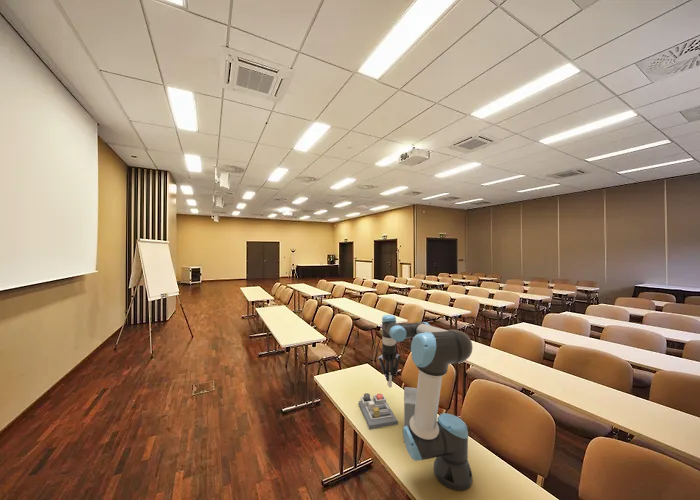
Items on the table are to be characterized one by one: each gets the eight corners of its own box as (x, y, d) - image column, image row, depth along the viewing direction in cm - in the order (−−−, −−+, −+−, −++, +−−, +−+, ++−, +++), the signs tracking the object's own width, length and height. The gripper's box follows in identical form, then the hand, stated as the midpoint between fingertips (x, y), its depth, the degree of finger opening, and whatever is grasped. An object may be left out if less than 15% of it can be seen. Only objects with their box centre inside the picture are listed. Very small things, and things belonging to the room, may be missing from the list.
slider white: (374, 410, 150) (374, 403, 150) (369, 411, 149) (369, 404, 149) (373, 407, 153) (373, 400, 153) (368, 408, 152) (368, 401, 152)
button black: (370, 401, 155) (370, 396, 155) (364, 402, 154) (364, 397, 154) (368, 398, 159) (368, 392, 158) (363, 398, 158) (363, 393, 158)
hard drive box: (420, 446, 126) (420, 405, 126) (403, 443, 128) (403, 403, 127) (418, 424, 142) (418, 387, 141) (403, 422, 143) (403, 386, 143)
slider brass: (379, 417, 144) (379, 410, 144) (374, 418, 143) (374, 411, 143) (378, 414, 147) (377, 406, 147) (372, 414, 146) (372, 407, 146)
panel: (397, 424, 142) (397, 415, 142) (369, 429, 138) (369, 419, 138) (383, 400, 163) (383, 392, 163) (358, 404, 160) (358, 396, 159)
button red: (383, 401, 157) (383, 396, 157) (377, 402, 156) (377, 397, 156) (381, 398, 160) (381, 393, 160) (375, 399, 160) (375, 394, 160)
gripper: (397, 340, 151) (397, 381, 151) (375, 342, 148) (376, 384, 148) (402, 344, 144) (403, 388, 144) (380, 347, 141) (380, 391, 141)
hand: (389, 386), depth 146 cm, fingers closed
